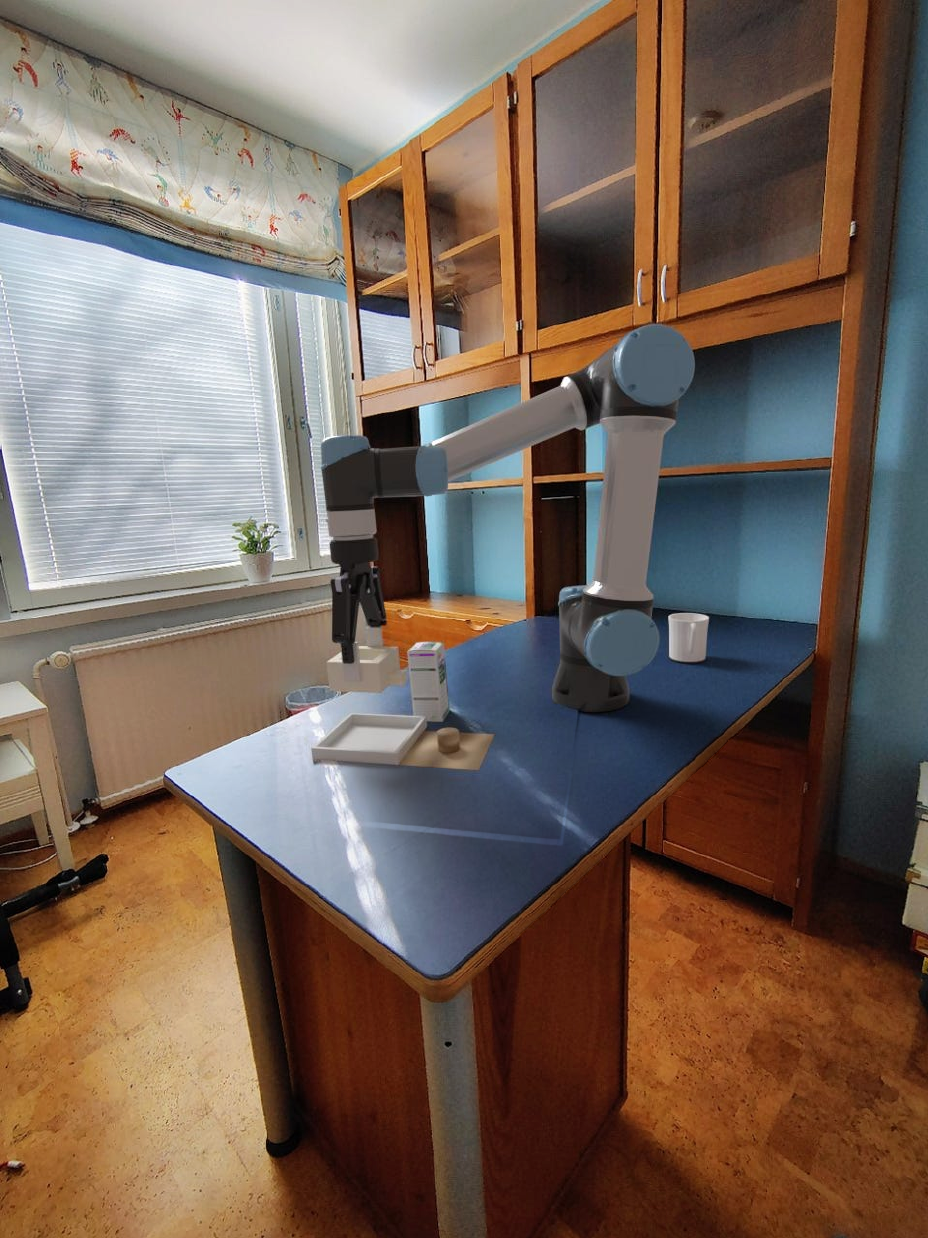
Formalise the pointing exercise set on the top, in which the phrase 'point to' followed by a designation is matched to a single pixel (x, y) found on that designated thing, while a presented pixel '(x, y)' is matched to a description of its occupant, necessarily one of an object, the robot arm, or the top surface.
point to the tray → (370, 738)
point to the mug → (687, 637)
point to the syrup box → (428, 680)
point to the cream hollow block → (369, 671)
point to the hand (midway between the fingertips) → (365, 671)
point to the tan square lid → (448, 750)
